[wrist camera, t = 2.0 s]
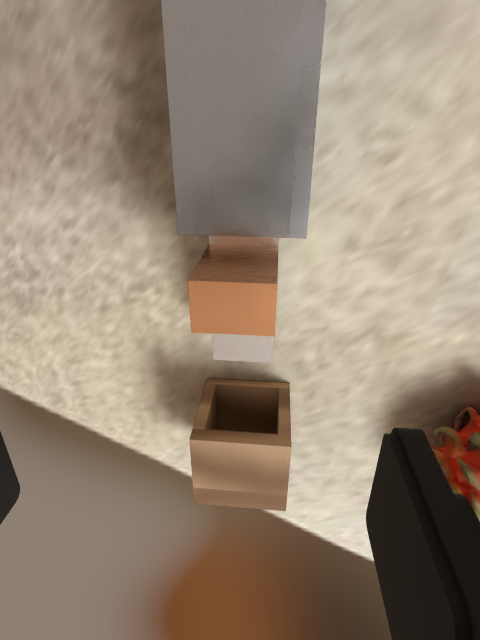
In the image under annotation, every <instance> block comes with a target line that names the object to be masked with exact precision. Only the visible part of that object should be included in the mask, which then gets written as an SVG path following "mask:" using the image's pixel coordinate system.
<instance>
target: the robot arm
mask: <svg viewBox="0 0 480 640" xmlns="http://www.w3.org/2000/svg"><path fill="white" fill-rule="evenodd" d="M19 493H20V485H19V482H18V479H17V477H16V474H15V471H14V468H13V465H12V462H11V460H10V457H9V454H8V452H7V449H6V446H5V443H4V440H3V437H2V435H1V432H0V524H1V523H2V521H3V520H4V518H5V517H6V516H7V514H8V513H9V511H10V510H11V508H12V507H13V506H14V504H15V503H16V501H17V499H18V497H19ZM366 524H367V531H368V535H369V539H370V544H371V548H372V553H373V557H374V562H375V566H376V570H377V575H378V579H379V584H380V588H381V593H382V597H383V601H384V606H385V610H386V615H387V619H388V624H389V628H390V632H391V637H392V640H480V521H479V519H478V517H477V515H476V513H475V511H474V509H473V508H472V506H471V504H470V503H469V501H468V499H467V498H466V497H464V496H463V495H462V494H458V493H453V492H452V490H451V487H450V485H449V483H448V481H447V479H446V477H445V475H444V473H443V471H442V469H441V467H440V465H439V463H438V461H437V458H436V456H435V454H434V452H433V450H432V448H431V446H430V444H429V442H428V440H427V438H426V436H425V434H424V432H423V431H422V430H421V429H410V428H394V429H393V430H392V433H391V434H385V435H384V437H383V440H382V445H381V449H380V454H379V458H378V463H377V467H376V472H375V476H374V481H373V485H372V490H371V494H370V499H369V503H368V507H367V513H366Z"/></svg>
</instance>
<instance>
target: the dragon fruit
mask: <svg viewBox="0 0 480 640" xmlns="http://www.w3.org/2000/svg"><path fill="white" fill-rule="evenodd" d="M468 413H469V418H468V422H467V424H466V425H465V426H464V427H463V428H462V429H461V430H460V428H461V425H462V420H463V417H464V416H465V415H467V414H468ZM454 423H455V425H454V428H453V429H451V428H448V427H440V428H437V429H435V430H434V431H433V432H432V434H433V439H434V440H435V441H436V442H437V439H438V438H437V434H438V433H440V432H442V433H443V435H444V436H443V440H444V443H445V444H444V447H431V448H432V450H433V452H434V454H435V456H436V458H437V461H438V463H439V465H440V467H441V469H442V471H443V473H444V475H445V477H446V479H447V481H448V483H449V485H450V487H451V490H452V492H453V493H458V494H462V495H463V496H464V497H466V498H467V499H468V501H469V503H470V504H471V506H472V508H473V509H474V511H475V513H476V515H477V517H478V519H479V521H480V415H479V414H478V413H477V412H476V410H475V409H474V408H472V407H468V408H466V409H463V410H461V411H460V414H459V415H457V416H456V417H455V419H454Z"/></svg>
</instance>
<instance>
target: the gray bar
mask: <svg viewBox="0 0 480 640" xmlns="http://www.w3.org/2000/svg"><path fill="white" fill-rule="evenodd" d="M278 240H279V238H273V237H237V236H209V245H208V247H207V249H206V250H205V252H204V254H203V256H202V257H201V259H200V261H199V263H198V264H197V266H196V268H195V269H194V271H193V273H192V275H191V276H190V278H189V280H188V289H189V305H190V320H191V332H194V333H212V338H213V360H228V361H246V362H264V363H273V342H274V336H275V319H276V299H277V274H278Z"/></svg>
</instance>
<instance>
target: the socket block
mask: <svg viewBox="0 0 480 640" xmlns="http://www.w3.org/2000/svg"><path fill="white" fill-rule="evenodd" d="M190 453H191V466H192V478H193V491H194V503H200V504H210V505H211V504H212V505H222V506H233V507H245V508H258V509H268V510H280V511H286V502H287V491H288V479H289V467H290V456H291V422H290V388H289V383H282V382H266V381H249V380H232V379H215V378H207V381H206V384H205V387H204V391H203V394H202V398H201V401H200V405H199V408H198V412H197V415H196V419H195V422H194V426H193V429H192V433H191V436H190Z"/></svg>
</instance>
